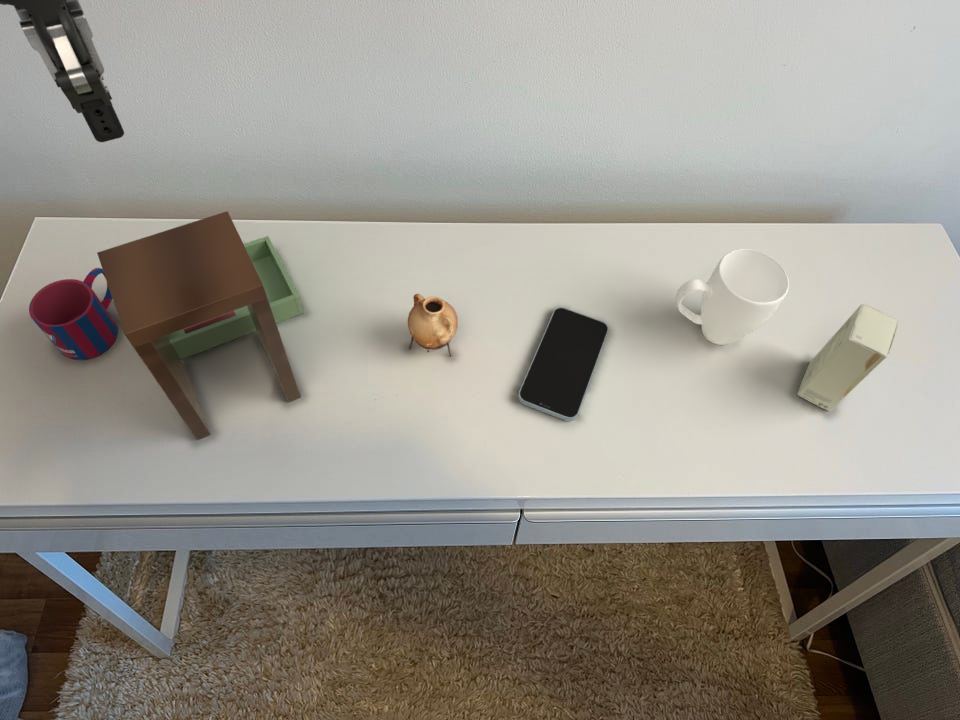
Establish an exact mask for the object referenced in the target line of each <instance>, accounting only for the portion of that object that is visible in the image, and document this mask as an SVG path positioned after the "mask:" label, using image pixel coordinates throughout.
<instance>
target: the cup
mask: <svg viewBox="0 0 960 720" xmlns="http://www.w3.org/2000/svg"><path fill="white" fill-rule="evenodd" d="M101 274H102V275H103V276H104V277H105V275H104V272H103V269H102V267H95V268H93V269H91V270H90V271H89V273H88V274H86V275H85V278H84V279H83V280H80V279H75V278H66V279H65V278H64V279H60V280H56V281H53V282H50V283H49V284H47V285H45V286H43V287H42V288H40V289H39V290H38V291H37V292H36V293H35V294H34V296H32V299H30V300H31V301H30V303H29V305H28V306H29V307H28V313H29V316H30V318H31V320H32V321H33V322H34V324H35V325H36V326H37V327H38V328H39V329H40V331H42V333H43V334H44V335H45V336H46V337H47V338H48V340H49V341H50V342H51V343H52V344H53V345H54V346H55V348H56V349H57V350H58V351H59V352H60V353H61V354H62V355H63V356H64V357H66V358H68V359H72V360H74V361H75V360H78V361H84V360H90V359H93V358H96V357H98V356H101V355H102V354H105V353H106V352H107V351H108V350H109V349H110V348H111V347H112V346H113V344H114V343H115V342H116V339H117V338H118V337H117V336H118V325H117V323H116V321H115V320H114V318H113V317H112V315H111V314H110V313H109V311H108V309H109V308H110V306H111V303H112V302H113V299H112V296H111V293H110V290H109V287H108V284H107V283H106V291H105V294H104V296H103V299H102V300H100V298H99V297H98V296H97V293H96V292H95V291H94V290H93V288H92V287H93V284H94V282H95V279H96V278H97V277H98V276H99V275H101Z"/></svg>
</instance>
